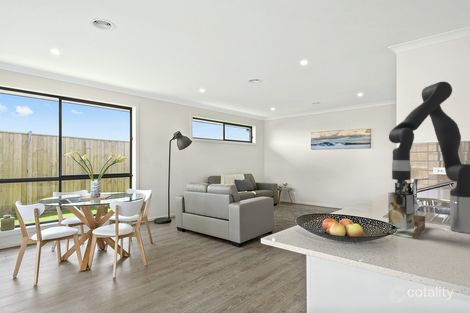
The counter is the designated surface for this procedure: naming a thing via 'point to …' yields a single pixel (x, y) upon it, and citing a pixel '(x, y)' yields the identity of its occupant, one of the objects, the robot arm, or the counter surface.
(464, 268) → the counter surface
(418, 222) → the rack bay
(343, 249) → the counter surface
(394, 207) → the coffee box
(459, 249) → the counter surface
